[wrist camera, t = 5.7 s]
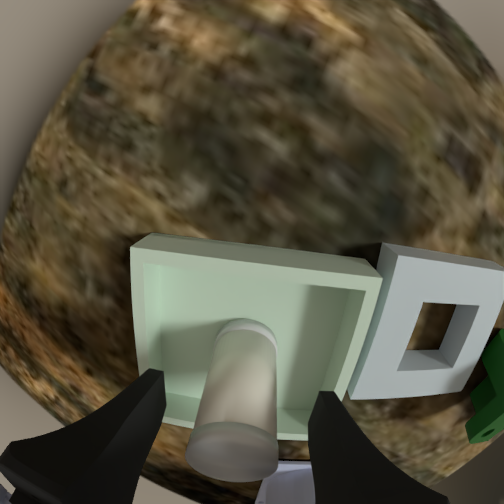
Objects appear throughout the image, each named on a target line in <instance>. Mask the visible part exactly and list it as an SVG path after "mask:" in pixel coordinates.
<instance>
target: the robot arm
mask: <svg viewBox="0 0 504 504" xmlns="http://www.w3.org/2000/svg"><path fill="white" fill-rule="evenodd" d="M166 406H167V403H166V392H165V380H164V371H161V370H156V369H152V368H149V369H147V370H146V371H145V372H144V373H143V374H142V375H141V376H139V377H138V378H137V379H136V380H135V381H134V382H133V383H131V384H130V385H129V386H128V387H127V388H126V389H124V390H123V391H122V392H121V393H119V394H118V395H117V396H116V397H114V398H113V399H112V400H110V401H109V402H107V403H106V404H105V405H103V406H102V407H100V408H99V409H97V410H96V411H94V412H93V413H91V414H89V415H88V416H86V417H84V418H82V419H80V420H79V421H76V422H74V423H72V424H70V425H68V426H66V427H63V428H61V429H59V430H56V431H53V432H50V433H47V434H44V435H41V436H37V437H34V438H29V439H24V440H18V441H12V442H11V443H10V444H9V445H8V446H7V448H6V449H5V450H4V452H3V453H2V455H1V456H0V472H1V473H2V474H3V475H4V476H5V477H6V478H7V480H8V481H9V482H10V483H11V484H12V485H13V486H14V487H15V488H16V489H15V491H14V493H13V494H12V495H11V494H10V493H9V492H7V490H6V489H5V488H4V487H3V486H2V485H1V484H0V504H132V502H133V498H134V494H135V490H136V487H137V483H138V480H139V476H140V473H141V470H142V468H143V465H144V463H145V460H146V458H147V456H148V454H149V451H150V449H151V447H152V445H153V442H154V440H155V438H156V435H157V433H158V431H159V429H160V426H161V423H162V420H163V417H164V413H165V409H166ZM308 447H309V454H310V461H278V469H277V470H276V472H275V473H273V474H272V475H271V476H269V477H267V478H264V479H263V480H262V483H261V486H260V489H259V492H258V495H257V498H256V501H255V504H450V502H449V500H448V498H447V497H446V496H444V495H442V494H440V493H438V492H436V491H434V490H432V489H430V488H428V487H426V486H424V485H422V484H421V483H419V482H417V481H416V480H414V479H413V478H411V477H410V476H408V475H407V474H406V473H404V472H403V471H402V470H400V469H399V468H398V467H396V466H395V465H394V464H393V463H392V462H390V461H389V460H388V459H387V458H386V457H385V456H384V455H383V454H382V453H381V452H380V451H379V450H378V449H377V448H376V447H375V446H374V445H373V444H372V442H371V441H370V440H369V439H368V438H367V437H366V435H365V434H364V433H363V432H362V430H361V429H360V428H359V426H358V425H357V424H356V422H355V421H354V420H353V418H352V417H351V415H350V414H349V413H348V411H347V410H346V408H345V407H344V405H343V404H342V402H341V401H340V399H339V398H338V396H337V395H336V393H335V392H334V391H319V393H318V396H317V399H316V402H315V404H314V407H313V410H312V413H311V415H310V418H309V421H308Z"/></svg>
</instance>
